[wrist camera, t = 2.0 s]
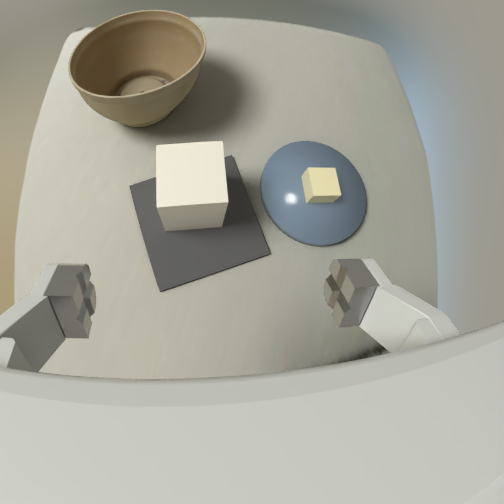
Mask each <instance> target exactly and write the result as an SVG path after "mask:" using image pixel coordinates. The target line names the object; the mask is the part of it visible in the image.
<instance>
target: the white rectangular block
mask: <svg viewBox="0 0 504 504" xmlns="http://www.w3.org/2000/svg"><path fill="white" fill-rule="evenodd" d="M156 202H157V210H158V213H159V215H160V218H161V221H162V224H163V226H164V229H165V231H177V230H190V229H202V228H216V227H222V224H223V221H224V217H225V213H226V209H227V206H228V192H227V182H226V172H225V161H224V151H223V141H213V142H194V143H179V144H166V145H156Z"/></svg>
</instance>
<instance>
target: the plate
mask: <svg viewBox="0 0 504 504" xmlns="http://www.w3.org/2000/svg"><path fill="white" fill-rule="evenodd" d="M308 167H313V168H335V169H336V173H337V178H338V182H339V187H340V191H341V196H340V197H339V198H338V199H337V200H335V201H334V202H333V203H306V199H305V193H304V188H303V182H302V177H301V176H302V175H303V173H304V172H305V171H306V169H307V168H308ZM260 191H261V198H262V202H263V205H264V208H265V210H266V212H267V214H268V216H269V217H270V219H271V220H272V222H273V223H274V224H275V225H276V226H277V227H278V228H279V229H280V230H281V231H282V232H283V233H284V234H286V235H287V236H288V237H290V238H292V239H294V240H296V241H298V242H300V243H303V244H307V245H311V246H328V245H333V244H336V243H338V242H340V241H342V240H344V239H346V238H347V237H349V236H350V235H352V234H353V233H354V232H355V231H356V229H357V228H358V227H359V225H360V224H361V222H362V220H363V217H364V214H365V210H366V193H365V188H364V184H363V182H362V179H361V177H360V175H359V173H358V172H357V170H356V169H355V167H354V166H353V165H352V163H351V162H350V161H349V160H348V159H347V158H346V157H345V156H344V155H342V154H341V153H340V152H338V151H337V150H335V149H333V148H331V147H329V146H327V145H324V144H321V143H317V142H311V141H300V142H294V143H290V144H288V145H285V146H283V147H282V148H280V149H279V150H277V151H276V152H275V153H274V154H273V155H272V156H271V157H270V159H269V160H268V162H267V164H266V166H265V168H264V171H263V173H262V177H261V184H260Z"/></svg>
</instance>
